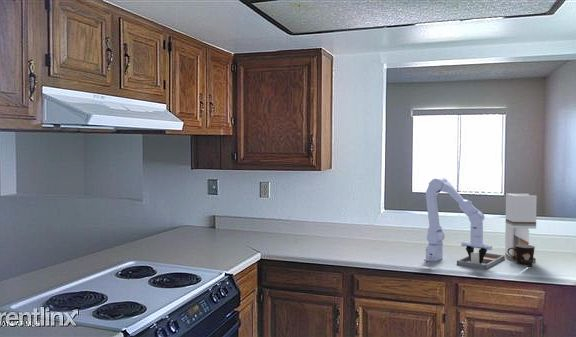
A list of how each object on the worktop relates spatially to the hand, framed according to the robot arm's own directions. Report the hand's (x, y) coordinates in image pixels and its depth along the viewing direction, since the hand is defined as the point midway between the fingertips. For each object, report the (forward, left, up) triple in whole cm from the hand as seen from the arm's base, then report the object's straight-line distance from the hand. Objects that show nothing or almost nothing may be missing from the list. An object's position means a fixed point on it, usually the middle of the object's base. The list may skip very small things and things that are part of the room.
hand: (476, 262), depth 219 cm
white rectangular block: (0, 0, -1) cm, 1 cm away
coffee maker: (+30, -12, -2) cm, 32 cm away
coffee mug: (+18, -16, -2) cm, 24 cm away
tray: (+7, 0, -2) cm, 7 cm away
